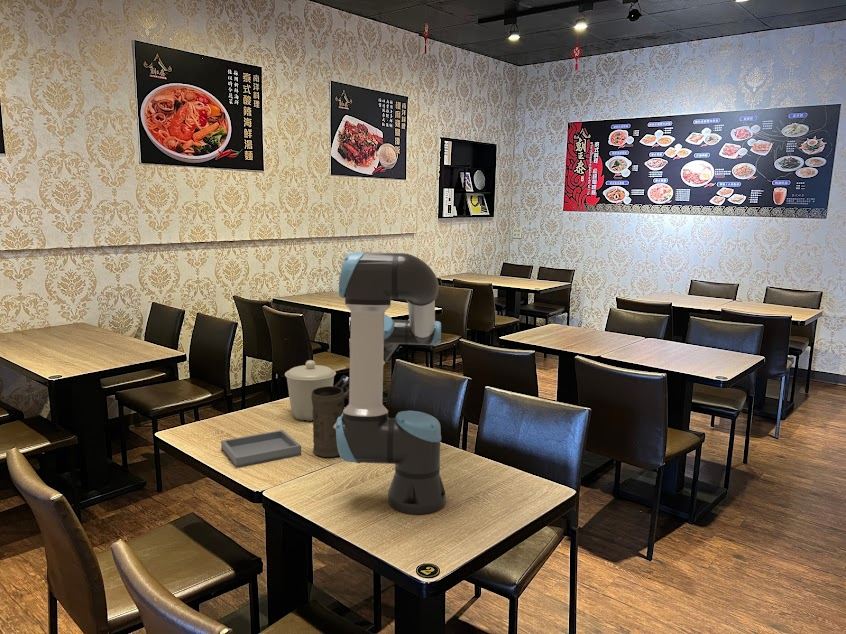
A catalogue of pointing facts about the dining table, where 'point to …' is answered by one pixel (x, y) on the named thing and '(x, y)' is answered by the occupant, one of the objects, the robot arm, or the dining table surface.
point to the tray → (260, 448)
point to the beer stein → (327, 418)
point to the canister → (306, 387)
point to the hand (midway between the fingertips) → (326, 425)
